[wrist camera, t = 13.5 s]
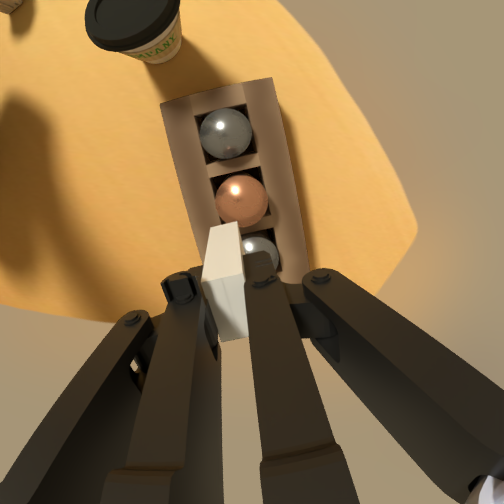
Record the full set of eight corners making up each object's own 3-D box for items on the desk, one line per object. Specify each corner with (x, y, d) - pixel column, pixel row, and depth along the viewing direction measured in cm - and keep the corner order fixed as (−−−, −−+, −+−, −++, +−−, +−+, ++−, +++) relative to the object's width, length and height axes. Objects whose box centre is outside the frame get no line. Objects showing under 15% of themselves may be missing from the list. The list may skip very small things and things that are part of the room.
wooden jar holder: (216, 283, 45) (215, 304, 39) (169, 108, 35) (159, 104, 30) (301, 263, 45) (311, 282, 39) (266, 86, 35) (272, 77, 30)
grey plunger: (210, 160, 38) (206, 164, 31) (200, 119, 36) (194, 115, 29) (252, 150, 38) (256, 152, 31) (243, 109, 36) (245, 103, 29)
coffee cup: (114, 66, 32) (62, 38, 18) (146, 8, 29) (111, -40, 15) (174, 85, 34) (144, 57, 20) (207, 25, 31) (196, -27, 17)
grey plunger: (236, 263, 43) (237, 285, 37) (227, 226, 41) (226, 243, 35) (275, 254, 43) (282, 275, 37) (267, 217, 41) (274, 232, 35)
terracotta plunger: (223, 216, 39) (222, 232, 33) (213, 175, 37) (209, 182, 31) (265, 207, 39) (272, 220, 33) (256, 165, 37) (262, 170, 31)
